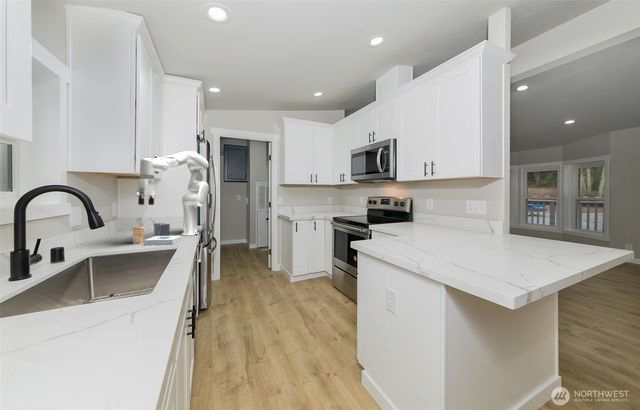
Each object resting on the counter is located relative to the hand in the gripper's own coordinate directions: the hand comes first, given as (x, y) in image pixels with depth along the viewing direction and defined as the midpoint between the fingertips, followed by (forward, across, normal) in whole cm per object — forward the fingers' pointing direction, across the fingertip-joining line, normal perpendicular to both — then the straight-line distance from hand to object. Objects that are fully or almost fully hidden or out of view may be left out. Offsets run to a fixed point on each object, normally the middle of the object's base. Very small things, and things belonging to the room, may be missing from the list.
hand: (146, 204), depth 161 cm
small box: (+24, -18, 0) cm, 30 cm away
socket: (+24, -2, +10) cm, 26 cm away
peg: (+24, +1, -3) cm, 25 cm away
